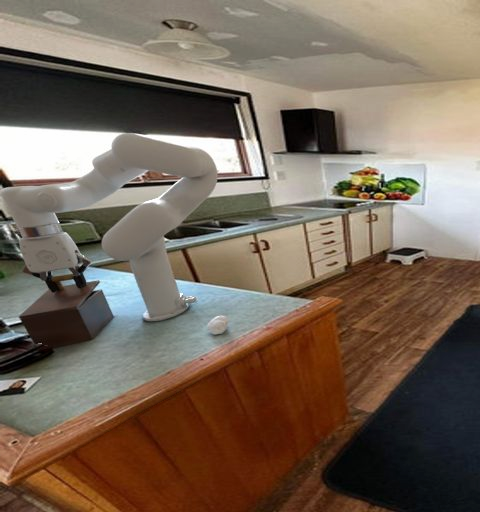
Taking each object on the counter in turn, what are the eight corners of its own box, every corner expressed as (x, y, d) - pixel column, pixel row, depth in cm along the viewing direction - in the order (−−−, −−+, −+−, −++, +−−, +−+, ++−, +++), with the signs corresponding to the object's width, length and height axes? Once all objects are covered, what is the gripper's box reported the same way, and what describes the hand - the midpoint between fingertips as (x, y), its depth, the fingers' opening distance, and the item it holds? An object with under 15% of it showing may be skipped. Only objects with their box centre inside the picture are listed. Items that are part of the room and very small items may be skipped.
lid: (51, 289, 84) (41, 275, 81) (100, 282, 88) (92, 267, 85) (19, 319, 72) (7, 302, 69) (77, 308, 76) (67, 292, 74)
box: (68, 325, 87) (53, 297, 84) (114, 316, 92) (102, 289, 88) (38, 350, 76) (19, 319, 72) (92, 339, 80) (77, 308, 76)
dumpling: (235, 327, 83) (232, 318, 81) (221, 339, 79) (217, 330, 77) (217, 320, 85) (214, 311, 83) (203, 332, 81) (199, 322, 79)
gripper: (-14, 238, 70) (21, 300, 76) (74, 229, 77) (99, 287, 83) (9, 232, 77) (39, 289, 83) (88, 224, 83) (111, 278, 89)
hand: (69, 287), depth 83 cm, fingers closed on lid, 5 cm apart
